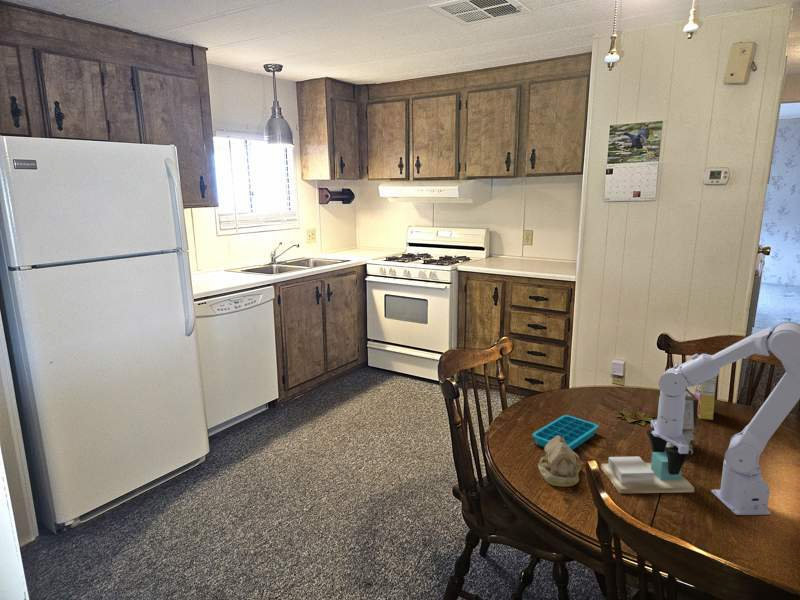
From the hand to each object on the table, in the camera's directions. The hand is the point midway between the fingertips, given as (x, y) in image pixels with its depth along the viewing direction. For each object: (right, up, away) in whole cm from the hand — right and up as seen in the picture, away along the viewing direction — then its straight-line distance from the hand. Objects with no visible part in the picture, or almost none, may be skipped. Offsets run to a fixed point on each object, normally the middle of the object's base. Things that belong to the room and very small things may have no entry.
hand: (665, 465), depth 128 cm
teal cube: (0, -2, 0) cm, 3 cm away
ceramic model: (-25, -4, +5) cm, 26 cm away
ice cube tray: (-18, 0, +23) cm, 29 cm away
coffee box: (+12, 0, +17) cm, 21 cm away
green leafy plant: (+9, +3, +36) cm, 37 cm away
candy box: (+32, +4, +38) cm, 50 cm away
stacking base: (-5, -4, +1) cm, 6 cm away
